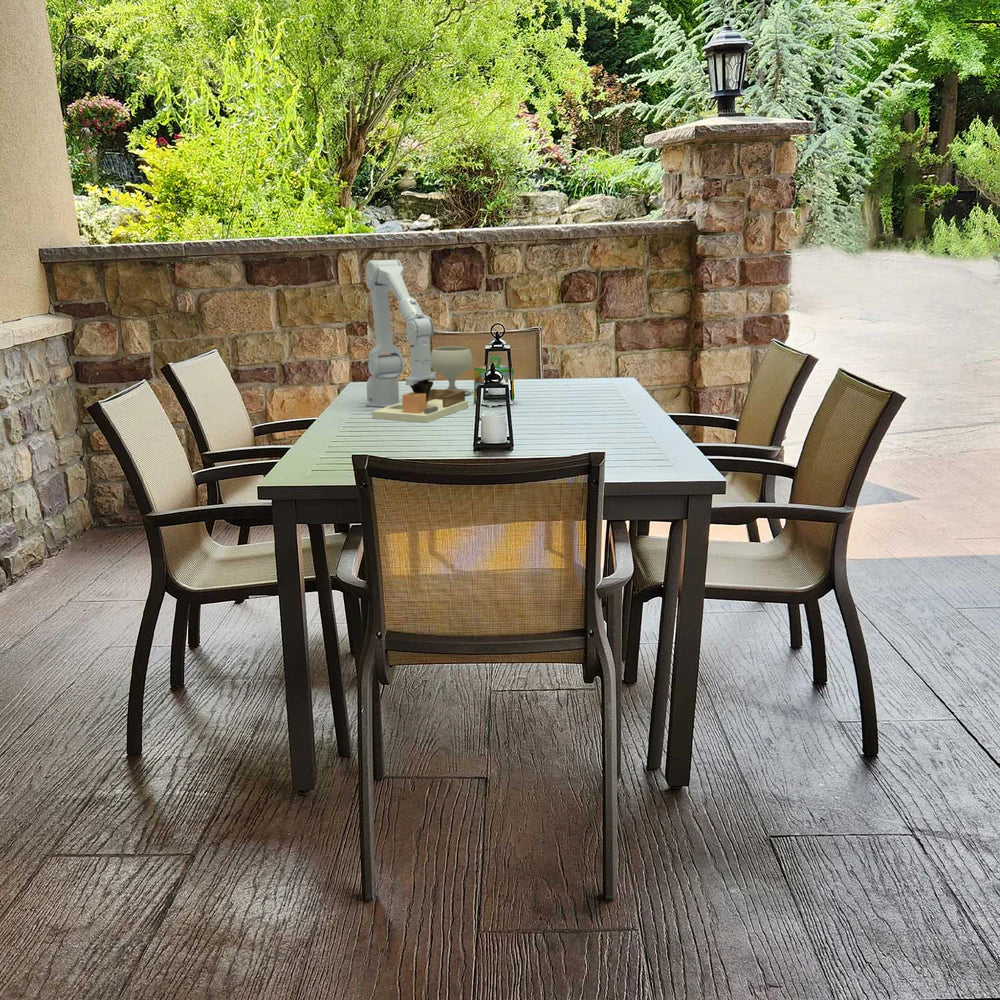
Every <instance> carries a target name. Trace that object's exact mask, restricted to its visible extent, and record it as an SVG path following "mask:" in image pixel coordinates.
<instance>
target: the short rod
mask: <svg viewBox="0 0 1000 1000" xmlns="http://www.w3.org/2000/svg"><path fill="white" fill-rule="evenodd" d="M436 411H438V407H435V406H434V407H431V408H428V409H425V410H424V414H430V413H433V412H436Z"/></svg>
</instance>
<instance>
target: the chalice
mask: <svg viewBox="0 0 1000 1000" xmlns="http://www.w3.org/2000/svg"><path fill="white" fill-rule="evenodd" d="M430 354H431V369H432V370H433V371H434V372H436V373H437V374H440V375H442V376H443V377H444V378H446V379H447V381H448V387H447V388H445V389H444V390H458V391H465V396H466V395H470V394H471V393H472V392H471V391H470V390H467V389H461V388H460V389H459V388H457V387H456V380H457V379H458V378H459V377H460V376H461V375H463V374H465V373H466V372H468V371H469V370H470V369H471V368H472V367H473V363H474V360H473V359H474V358H473V355H472V352H471V349H470V348H469V347H467V346H459V345H458V346H457V345H456V346H455V345H453V346H451V345H450V346H438V347H434V348H433V350H432V351H431V353H430Z"/></svg>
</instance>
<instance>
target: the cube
mask: <svg viewBox="0 0 1000 1000" xmlns="http://www.w3.org/2000/svg"><path fill="white" fill-rule="evenodd" d="M401 396H402V397H401V398H402V400H401V402H402V401H403V412H406V413H421V412H424V410H425V409H427V408H426V393H414V392H413V391H412V392H408V393H404V394H402V395H401Z"/></svg>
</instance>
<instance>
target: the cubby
mask: <svg viewBox="0 0 1000 1000" xmlns="http://www.w3.org/2000/svg"><path fill="white" fill-rule="evenodd" d="M434 399H439V400H443V407H445V408H446V407H449V406H452V405H454V404H457V403H460V402H463V401H466V395H465V391H458V390H445V389H444V388H443V389H442V388H431V390H430V392H429V396H428V401H431V400H434ZM428 401H427V402H428Z"/></svg>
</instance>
